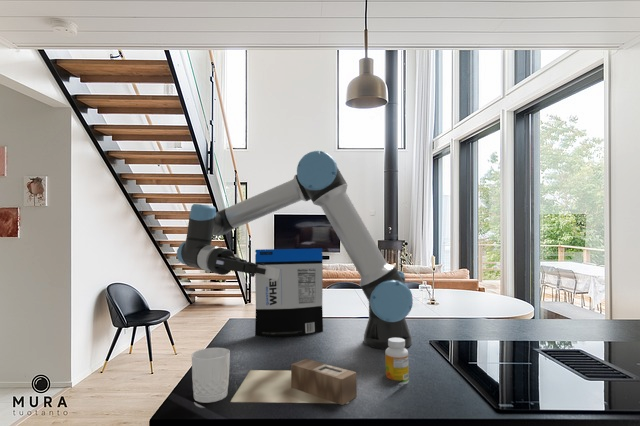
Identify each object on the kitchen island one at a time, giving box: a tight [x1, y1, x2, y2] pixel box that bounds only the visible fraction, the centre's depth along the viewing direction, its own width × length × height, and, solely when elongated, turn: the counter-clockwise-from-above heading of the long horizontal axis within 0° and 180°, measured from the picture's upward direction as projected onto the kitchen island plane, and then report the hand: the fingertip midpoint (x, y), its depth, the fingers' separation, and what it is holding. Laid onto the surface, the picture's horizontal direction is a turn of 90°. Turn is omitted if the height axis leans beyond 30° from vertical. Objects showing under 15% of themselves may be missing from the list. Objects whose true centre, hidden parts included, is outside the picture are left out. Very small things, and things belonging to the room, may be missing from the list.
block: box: [290, 358, 358, 406], centre depth 81 cm, size 5×5×14 cm
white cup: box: [191, 347, 231, 409], centre depth 80 cm, size 8×8×10 cm
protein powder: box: [254, 248, 324, 339], centre depth 135 cm, size 10×24×30 cm, turn 103°
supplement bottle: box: [384, 338, 410, 386], centre depth 90 cm, size 5×5×10 cm
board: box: [230, 369, 350, 404], centre depth 85 cm, size 24×18×1 cm
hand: (276, 274), depth 97 cm, fingers closed
